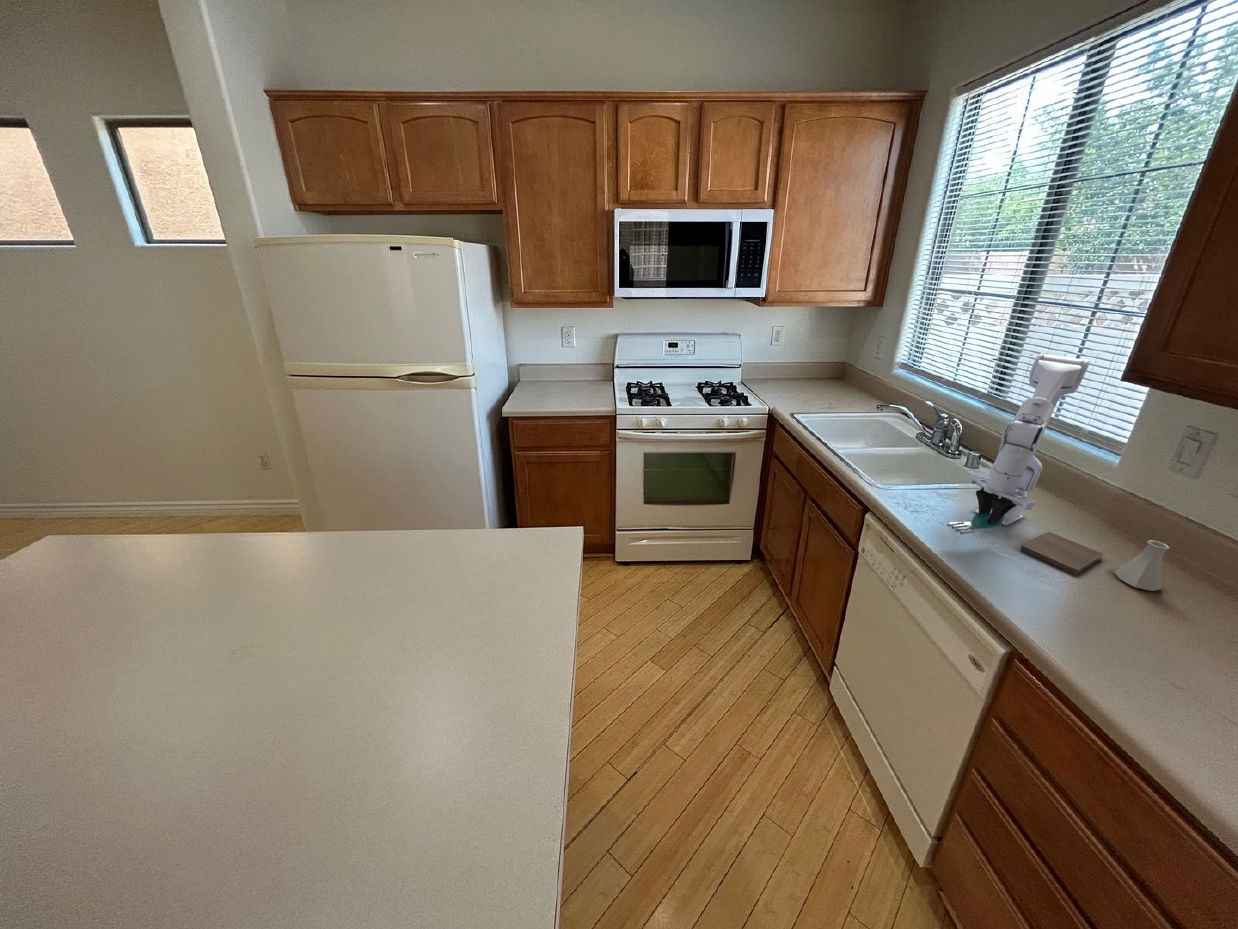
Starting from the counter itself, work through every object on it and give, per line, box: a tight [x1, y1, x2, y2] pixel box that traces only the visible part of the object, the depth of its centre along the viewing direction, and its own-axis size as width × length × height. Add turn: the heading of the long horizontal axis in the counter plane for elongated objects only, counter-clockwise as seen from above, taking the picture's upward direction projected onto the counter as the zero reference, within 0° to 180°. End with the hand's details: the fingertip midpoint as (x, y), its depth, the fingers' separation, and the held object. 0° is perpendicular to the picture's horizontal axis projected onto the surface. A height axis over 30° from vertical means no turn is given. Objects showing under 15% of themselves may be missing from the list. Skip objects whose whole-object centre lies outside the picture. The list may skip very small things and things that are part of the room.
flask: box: [1113, 539, 1171, 592], centre depth 104 cm, size 7×7×10 cm
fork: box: [946, 513, 1004, 536], centre depth 115 cm, size 13×4×3 cm, turn 104°
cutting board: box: [1019, 531, 1104, 576], centre depth 115 cm, size 14×11×2 cm
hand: (987, 521), depth 116 cm, fingers closed on fork, 2 cm apart
